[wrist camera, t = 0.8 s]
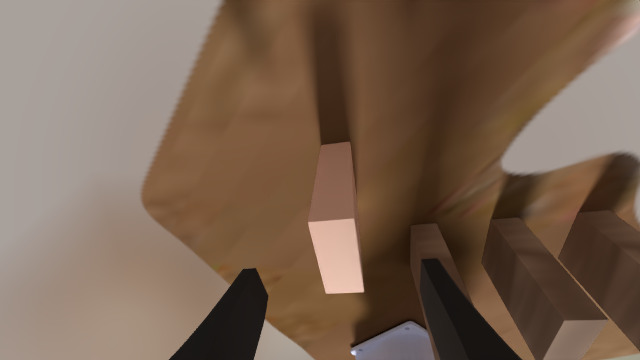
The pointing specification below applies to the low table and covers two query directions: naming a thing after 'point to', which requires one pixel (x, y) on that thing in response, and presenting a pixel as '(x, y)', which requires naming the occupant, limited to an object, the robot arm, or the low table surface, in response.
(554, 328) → the walnut domino
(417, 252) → the walnut domino
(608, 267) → the walnut domino
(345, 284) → the terracotta domino
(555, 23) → the low table surface
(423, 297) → the robot arm
